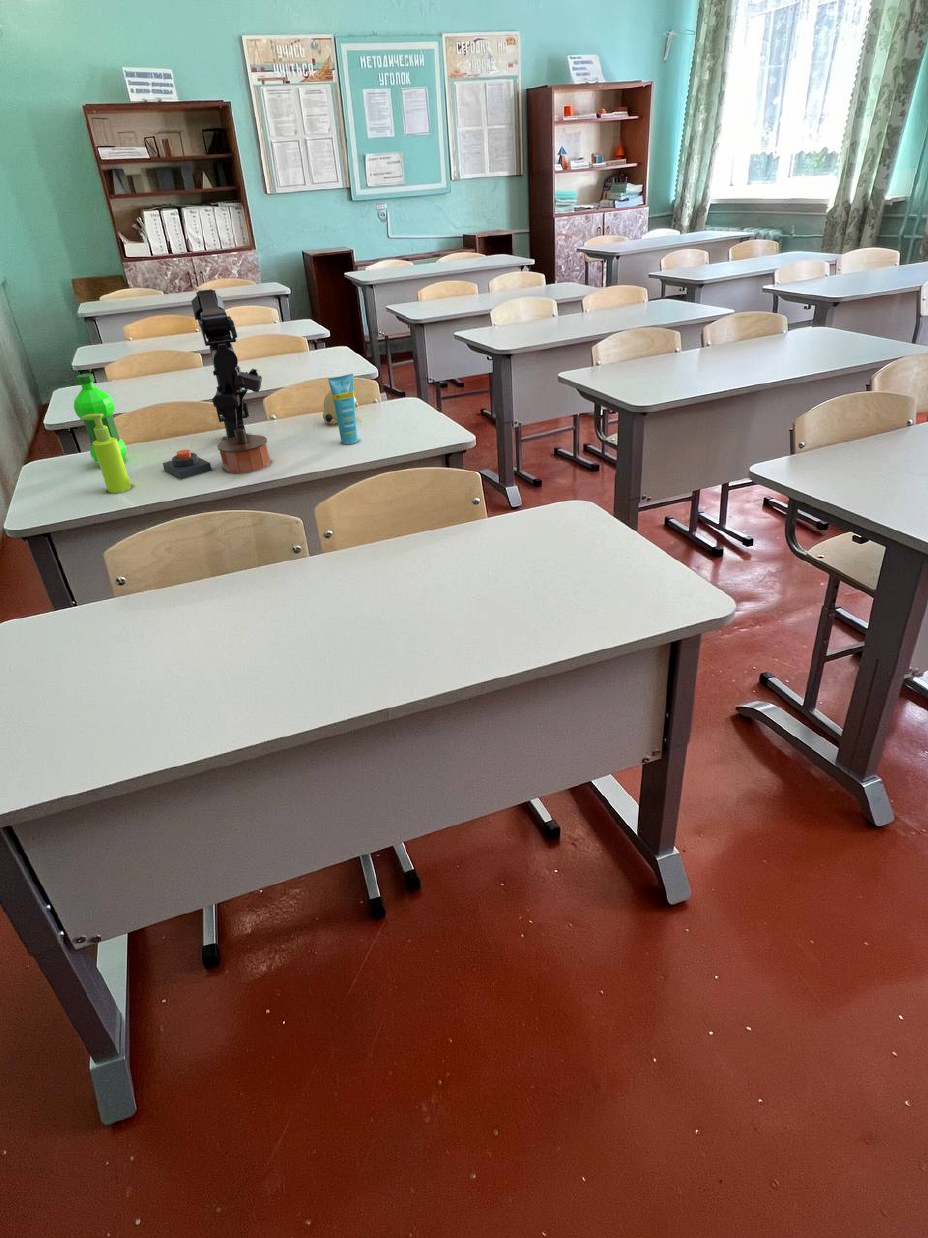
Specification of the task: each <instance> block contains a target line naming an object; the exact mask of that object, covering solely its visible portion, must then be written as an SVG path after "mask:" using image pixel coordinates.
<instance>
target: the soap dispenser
mask: <svg viewBox="0 0 928 1238" xmlns="http://www.w3.org/2000/svg"><path fill="white" fill-rule="evenodd" d="M103 416H104V415H103V414H88V415H85V416H82V417H81V418H79V420H81V421H83V419H88V418H94V421H95V424H96V427H95V428H94V429H93V430H94V433H95V436H96V439H97V440H96V441H94V442H93V443H92V444H93V447H94V450H95V453H96V456H97V459H98V462H99V463H98V462H97V463H98V465H99V468H100V472H101V474H102V477H103V480H104V483H105V486H106V489H107V492H108V493H111V494H118V493H124V492H127V491H129V490H130V489H132V484H131V480H130V478H129V474H128V471H127V468H126V465H125V461H124V459H123V458H122V455H121V451H120V448H119V445H118V442H117V439H116V438H113V437H110V433H109V430H108V427H107V426H105V425H103V423H102V420H101V418H102V417H103Z"/></svg>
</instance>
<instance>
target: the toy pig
mask: <svg viewBox="0 0 928 1238" xmlns="http://www.w3.org/2000/svg"><path fill="white" fill-rule="evenodd" d="M354 401H355V412H356V411H357V408H358V407H359V403H358V401H357V399H356V397H355V396H354ZM322 418H323V420H324V422H326V424H329V425H333V426H334V425H338V421H337V416H336V411H335V406H334V401H333V397H332V392H331V389H330V390H329V391H328V392H327V393H326V394H325V397H324V399H323V411H322Z"/></svg>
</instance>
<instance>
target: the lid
mask: <svg viewBox="0 0 928 1238" xmlns="http://www.w3.org/2000/svg"><path fill="white" fill-rule="evenodd" d="M245 431H246V429H245V430H244V429H243V428H240V429H236V430H235V435H236V437H233V438H229V439H226V440H225V439H223V440H222V441H220V442H219V443H218V444H217V446H216V447H217V450H218V451H219V452H220V451H222V452H227V453H238V452H246V451H250V450H254V449H257V448H260V447H262V446H264V445H265V444H267V443H268V438H267V437H266V436H264V435H259V434H248V435H245Z"/></svg>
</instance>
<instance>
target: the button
mask: <svg viewBox="0 0 928 1238" xmlns="http://www.w3.org/2000/svg"><path fill="white" fill-rule="evenodd" d="M191 453H192V452H191V450H190V449H181V450H178V451H176V455H177V457H178V459H187V458H190V457H191Z"/></svg>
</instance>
